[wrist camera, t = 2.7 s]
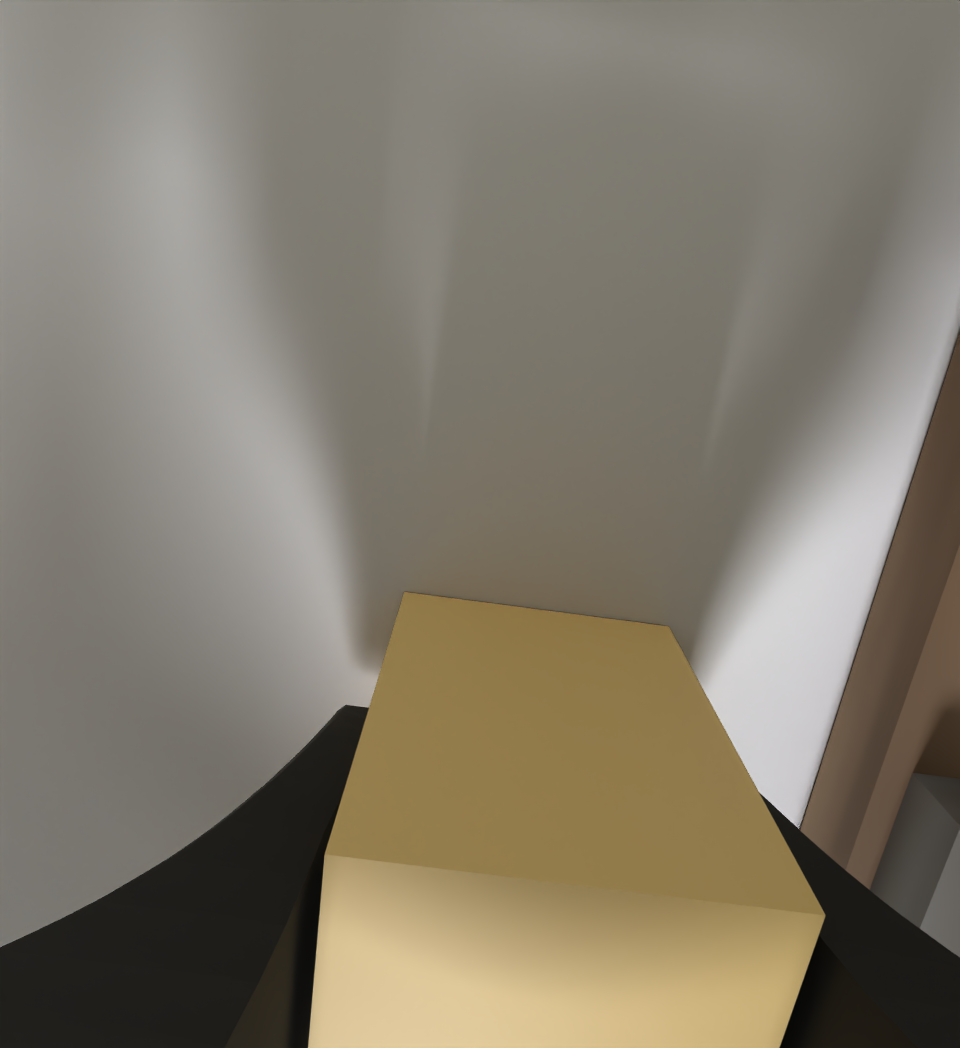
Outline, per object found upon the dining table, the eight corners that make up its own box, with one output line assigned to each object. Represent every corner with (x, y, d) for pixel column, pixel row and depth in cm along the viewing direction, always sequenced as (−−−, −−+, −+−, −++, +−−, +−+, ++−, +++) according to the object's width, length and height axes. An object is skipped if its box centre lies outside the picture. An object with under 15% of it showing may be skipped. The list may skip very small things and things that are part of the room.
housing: (379, 814, 13) (294, 1196, 8) (404, 591, 12) (324, 854, 6) (618, 843, 14) (711, 1242, 8) (668, 626, 12) (825, 915, 6)
